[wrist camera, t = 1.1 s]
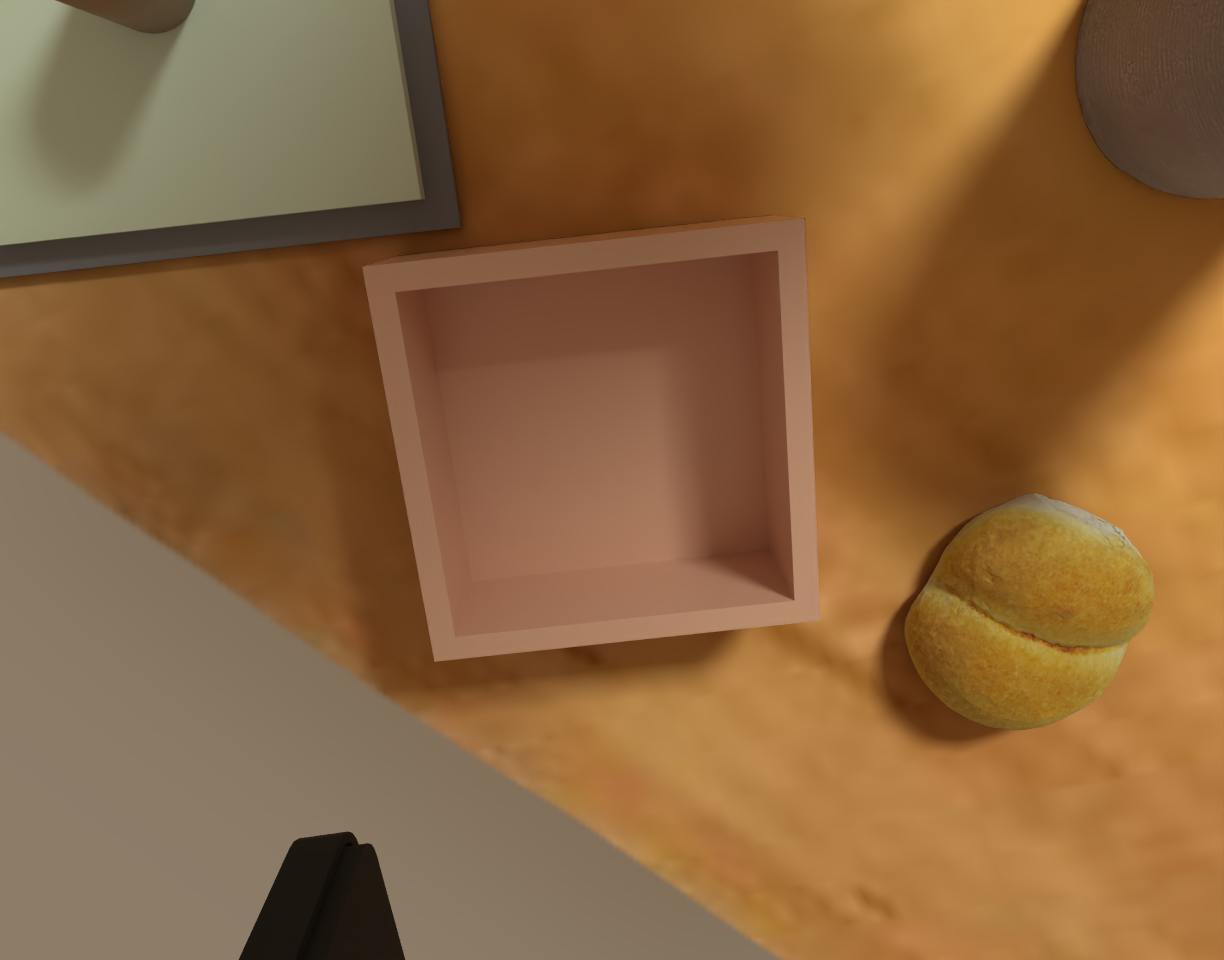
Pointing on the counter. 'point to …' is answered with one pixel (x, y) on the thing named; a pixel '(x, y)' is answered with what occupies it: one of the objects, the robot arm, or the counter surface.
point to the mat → (296, 227)
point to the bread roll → (1028, 613)
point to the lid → (197, 113)
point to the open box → (604, 433)
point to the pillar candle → (1156, 90)
